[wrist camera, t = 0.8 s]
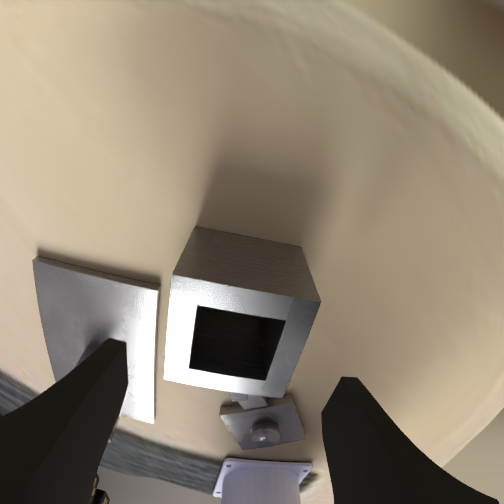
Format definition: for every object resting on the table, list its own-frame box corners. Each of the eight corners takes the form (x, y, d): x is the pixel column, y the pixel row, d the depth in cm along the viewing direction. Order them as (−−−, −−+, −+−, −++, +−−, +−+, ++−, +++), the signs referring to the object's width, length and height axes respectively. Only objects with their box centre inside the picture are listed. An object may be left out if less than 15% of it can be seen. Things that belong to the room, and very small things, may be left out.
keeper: (155, 421, 21) (146, 458, 18) (63, 393, 20) (47, 425, 17) (160, 285, 16) (141, 325, 13) (37, 256, 16) (3, 284, 12)
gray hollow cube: (275, 331, 18) (282, 398, 13) (183, 315, 17) (164, 379, 12) (301, 247, 16) (321, 301, 11) (195, 226, 15) (171, 274, 10)
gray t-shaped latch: (304, 430, 22) (307, 449, 20) (242, 442, 22) (242, 460, 20) (274, 346, 18) (276, 367, 16) (194, 363, 19) (190, 384, 17)
